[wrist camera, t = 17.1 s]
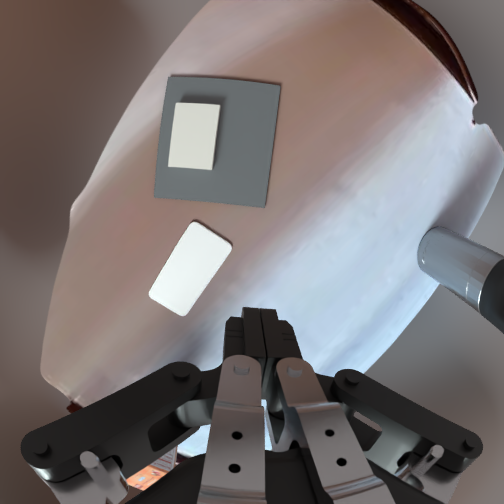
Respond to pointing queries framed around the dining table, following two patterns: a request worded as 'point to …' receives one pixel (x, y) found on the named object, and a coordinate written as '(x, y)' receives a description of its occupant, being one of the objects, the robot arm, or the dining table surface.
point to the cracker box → (154, 471)
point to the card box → (194, 135)
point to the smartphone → (189, 268)
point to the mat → (222, 142)
